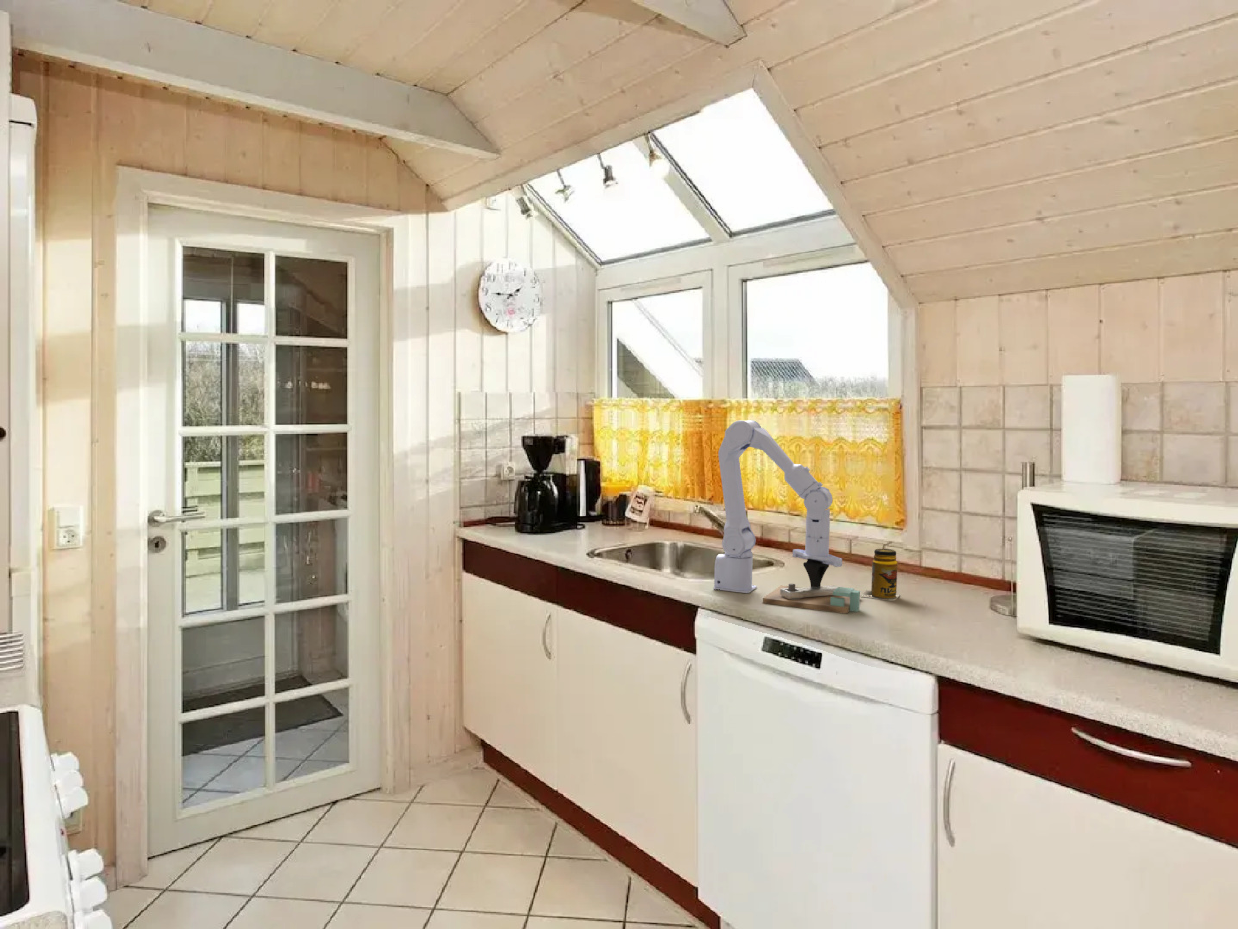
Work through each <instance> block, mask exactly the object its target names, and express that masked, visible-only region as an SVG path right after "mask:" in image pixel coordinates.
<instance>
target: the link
mask: <svg viewBox="0 0 1238 929" xmlns="http://www.w3.org/2000/svg"><path fill="white" fill-rule="evenodd" d="M838 587H839V586H838V585H820V586H819V587H811V586H806V587H800V588H795V591H791V592H790V591H788V588H782V589H780V595H781V596H783V597H786V598H788V599H793V598H803V597H813V596H827V595H833V591H834V590H835V589H836V588H838Z"/></svg>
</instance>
